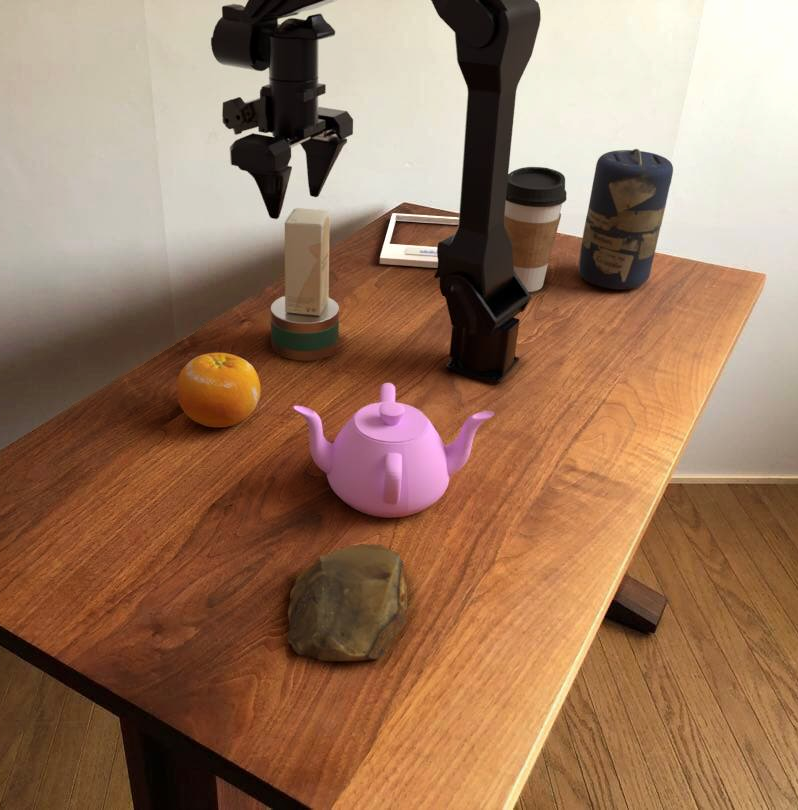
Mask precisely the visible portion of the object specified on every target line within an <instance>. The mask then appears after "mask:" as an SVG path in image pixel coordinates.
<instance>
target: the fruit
mask: <svg viewBox="0 0 798 810" xmlns="http://www.w3.org/2000/svg"><path fill="white" fill-rule="evenodd" d="M176 396H177V402H178V404H179V406H180V408H181V409H182V411H183V412H184V413H185V415H186V416H187V417H188V418H190V419H191V420H192V421H194V422H196V423H198V424H199V425H202V426H205V427H207V428H208V427H209V428H227V427H231V426H234V425H237V424H238V423H241V422H243V421H244V420H246V419H247V418H248V417H249V416H250V415H252V413H253V412H254V410H255V409H256V407H257V405H258V403H259V401H260V397H261V382H260V378H259V375H258V373H257V371H256V370H255V368H254V366H253V365H252V364H251V363H250V362H248V360H245V359H244V358H242V357H240V356H237V355H235V354H231V353H227V352H211V353H205V354H201V355H198V356H196V357H194V358H193V359H191V360H190V361H188V362H187V363H186V364H185V365H184V366H183V368H182V369H181V371H180V372H179V375H178V377H177V380H176Z"/></svg>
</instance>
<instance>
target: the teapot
mask: <svg viewBox="0 0 798 810" xmlns="http://www.w3.org/2000/svg"><path fill="white" fill-rule="evenodd" d="M293 409H294V411H295V412H297V413H298V414H299V415H300V416H302V417H303V418H304V420H305V421H306V424H307V427H308V432H309V433H308V434H309V449H310V450H309V451H310V454H311V458H312V460H313V462H314V464H315V465H316V466H317V467H318V469H320V470H321V471H322V472H324V473H325V474H326V478H327V481H328V484H329V485H330V488H331V489H332V491H333V492H334V494H336V496H337V497H338V498H339V499H341V500H342V501H343V502H344V503H345V504H347V505H348V506H350V507H351V508H352V509H354V510H356V511H358V512H360V513H363V514H365V515H368V516H373V517H378V518H386V519H387V518H391V519H392V518H395V519H396V518H404V517H407V516H408V517H409V516H413V515H415V514H418V513H420V512H422V511H424V510H426V509H428V508H430V507H431V506H432V505H434V504H435V503H437V502H438V501H439V500H440V499H441V497H442V496H443V495H444V494H445V492H446V490H448V487H449V483H450V477H451V476H454V474H456V473H458V472H459V471H460V470H462V469H463V468H464V467H465V465H466V464H467V462H468V460H469V458H470V455H471V453H472V447H473V443H474V438H475V435H476V432H477V431H478V429H479V427H480V426H481V425H482V424H483V423H485V422H486V421H488V420H489V419H490V418H492V417H493V416H494V415H495V412H494V411H492V410H485V411H480V412H476V413H474V414H472V415H470V416H469V417H468V418H467V419H466V420H465V421H464V422H463V423H462V426H461V429H460V431H459V434H458V436H457V438H456V439H455V440H453V442H451V443H449V444H447V445H445V444H444V442H443V440H442V438H441V436H440V434H439V433H438V431H437V429H436V428H435V426H434V425H433V423H432V422H431V421H430V419H429V418H428V417H427V415H426V414H425V413H424V412H422V411H421V410H420V409H418V408H416V407H415V406H412V405H409V404H406V403H402V402H398V401H397V402H396V387H395V385H394V384H393V383H392V382H384V383H383V384H381V386H380V392H379V402H374V403H370V404H368V405H366V406H363V407H361V408H360V409H358V410H357V411H356V412H355V413H354V414H353V415H352V416H350V418H349V420H348V421H347V422H346V423H345V424H344V426H343V427H342V428H341V429H340V431H339V432H338V434H337V435H336V437H335V438H334V441H333V442H332V443H331V442H330V441H328V440H327V439H326V437H325V436H324V430H323V422H322V419H321V417H320V416H319V414H318V413H317V412H316V411H314V410H313V409H311V408H309V407H306V406H301V405H294V406H293Z"/></svg>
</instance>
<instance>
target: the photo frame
mask: <svg viewBox="0 0 798 810" xmlns="http://www.w3.org/2000/svg"><path fill="white" fill-rule="evenodd" d="M396 221H397V222H409V223H410V222H412V223H424V224H425V223H426V224H439V225H440V224H442V225H456V226H458V224H459V217H455V216H441V215H439V216H438V215H424V214H410V213H397V212H396V213H395V212H394V213H393V212H392V213H391V217H390V221H389V224H388V228H387V231H386V235H385V239H384V242H383V244H382V248H381V252H380V256H379V264H380V265H391V266H392V265H393V266H405V267H406V266H407V267H418V268H419V267H420V268H431V269H432V268H433V269H434V268H435V269H437V267H438V257H437V247H438V246H427V245H425V246H424V245H414V244H413V245H411V244H397V243H396V244H395V243H391V241H392V237H393V232H394V229H395V225H396Z"/></svg>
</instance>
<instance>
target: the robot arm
mask: <svg viewBox="0 0 798 810" xmlns="http://www.w3.org/2000/svg"><path fill="white" fill-rule="evenodd" d="M336 1H337V0H247V1H246V4H245V6H244V5H242V4H236V3H232V4H226V5H223V6H222V7H221V17H220V18H219V19H218V20H217V22H216V24H215V26H214V29H213V32H212V36H211V38H210V47H211V52H212V54H213V58H215V60H216V61H217V62H218V63H219V64H220V65H223V66H228V67H234V68H239V69H244V70H251V71H257V72H265V71H266V70H267V69H268V84H265V85H263V86H261V89H260V90H259V97H258V98H255V99H251V100H249V101H246V102H245V101H244V100H243V98H242V97H241V96H238V97H235V98H232V99H231V98H230V99H229V100H226V101H223V102H222V108H221V110H222V112H221V113H222V114H221V117H222V124H223V125H224V126H225V128H227V129H228V130H233V134H234V135H235V136H236V135H237V136H238V135H240V134H242V133H243V132H245V131H249V130H252V129H255V128H257V129H258V133H254V132H253V133H250V134H248V135H245V136H242V137H240V138H238V139H236V140H234V141H233V143H232V144H231V145H230V146H229V160H230V161H229V163H230V165H231V166H234V167H238V169H239V170H241V171H244V172H247V173H248V174H249V175H250V176H251V177H252V178H253V180H254V181H255V183H256V185H257V187H258V190H259V193H260V196H261V198H262V200H263V203H264V205H265V209H266V211H267V214H268V216H269V218H270V219H273V220H278V219H280V216H281V212H282V209H283V205H284V202H285V199H286V194H287V191H288V190H287V189H288V185H289V182H290V178H291V173H292V170H293V166H290V165H289V164H290V162H291V159H292V148H294V147H297V146H299V145H300V146H301V147H302V149H303V150H304V152H305V161H306V174H307V184H308V191H309V195H310V197H313V198H318V197H319V196H320V194H321V192H322V190H323V188H324V186H325V185H326V184H325V183H326V182H327V179H328V177H329V175H330V173H331V171H332V169H333V167H334V166H335V163H336V161H337V160H338V157H339V155H340V154H341V152H342V150H343V148H344V146H346V144H347V143H348V138H349V137H350V136H353V134H354V118H353V117H352V116H351V114H350V113H349V111H347V110H344V109H343V110H342V109H335V108H329V107H328V108H327V107H322V106H319V96H322V95H324V94H327V93H326V89H327V87H326V86H327V85H326V84H325V83H319V67H320V65H319V61H320V60H319V58H320V57H319V50H320V49H319V45H320V44H319V40H324V39H327V38H331V37H334V36H335V35H336V30H335V29H334V28H333V26H332V25H331V24H330V23H328V21H326V20H325V18H324V16H323V15H322V13H315V14H310V15H308V16H307V18H306V19H303V18H294V16H297V15H299V14H300V13H302V12H308V11H313V10H316V9H319V8H322V7H324V6H326V5H329V4H332V3H334V2H336ZM430 2H431V4H432V5H433V7H434V9H435V12H436V13H437V15H438V17H439V19H441V20H442V21H443V23H445V24H446V25H447V27H448V28H450V29H451V30H452V31H453V32H454V39H455V40H454V41H455V49H456V50H455V53H456V62H457V65H458V67H459V70H460V72H461V75H462V77H463V80H464V82H465V85H466V88H467V97H466V98H467V99H466V113H465V126H464V140H463V141H464V142H463V156H462V157H463V158H462V168H461V169H462V170H461V186H460V200H459V213H458V214H459V215H458V218H459V224H458V225H457V227H456V231H455V232H454V233H452V234H451V235H449V236H448V237H445V238H444V239H442V240H441V241H438V243H437V246H436V247H437V257H438V267H437V268H436V271H435V273H434V276H433V278H434V279H439V281H438V286H439V291H440V295H441V296H442V297H444V298H445V302H446V307H447V311H448V316H449V319H450V323H451V327H452V328H451V335H450V345H449V358H451V360H449V362H448V363H446V367H445V368H446V370H448V371H451V372H454V373H457V374H460V375H464V376H467V377H470V378H474V379H476V380H480V381H483V382H487V383H490V384H493V385H499V384H501V382H502V381H503V380H504V379H505V378H506V377H507V376H508V374H510V373H511V371H513V369H514V368H515V367H516V366H517V365H518V364H519V362H520V358H519V356H515V355H516V349H517V342H518V335H519V329H520V321H521V320H520V318H517V317H516V316H517V315H518V314H520V313H523V312H524V311H525V310H526V308H527V306H528V305H529V303H530V302H531V300H532V295H531V294H530V292H528V291H527V289H526V288H525V286H524V285H523V283H522V282H521V280H520V279H519V277H518V276H517V275H516V273H515V272H514V264H513V249H512V244H511V241H510V239H509V236H508V234H507V232H506V229H505V227H504V213H505V203H506V192H507V182H508V174H509V173H510V172H509V171H510V160H511V151H512V150H511V149H512V138H513V129H514V118H515V108H516V99H517V89H518V86H519V84H520V81H521V79H522V77H523V75H524V72H525V70H526V68H527V66H528V64H529V62H530V60H531V58H532V55H533V52H534V47H535V44H536V40H537V37H538V33H539V29H540V26H541V19H542V17H541V15H542V14H541V8H540V4H539V2H538V1H537V0H430ZM288 17H289V18H288ZM284 18H287V19H285V20H284V21H283V22H281V23H280V24H279V20H280V19H284ZM259 133H260V134H259ZM261 133H263V134H261ZM268 133H271V134H272V136H270V135H265V134H268Z"/></svg>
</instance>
